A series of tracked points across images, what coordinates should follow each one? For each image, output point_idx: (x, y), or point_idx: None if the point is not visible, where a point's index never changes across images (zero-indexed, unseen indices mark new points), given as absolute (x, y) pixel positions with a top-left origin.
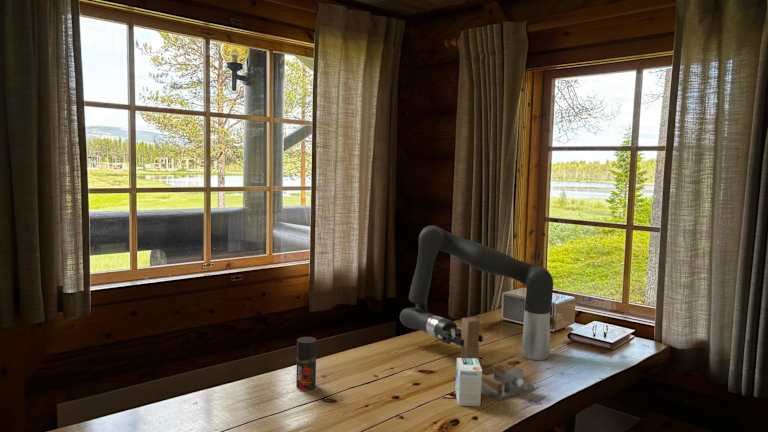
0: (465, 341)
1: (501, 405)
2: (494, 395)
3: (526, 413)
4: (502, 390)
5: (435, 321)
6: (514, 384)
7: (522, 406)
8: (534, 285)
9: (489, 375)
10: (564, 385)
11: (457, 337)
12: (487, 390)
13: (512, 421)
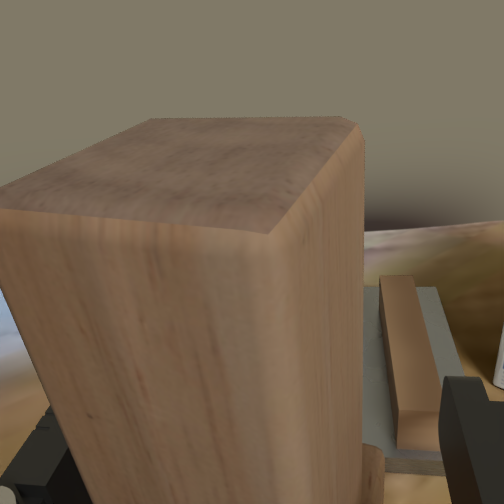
0: (356, 456)
1: (454, 277)
2: (440, 304)
3: (409, 233)
4: (370, 311)
5: None
6: None
7: (382, 254)
8: None
9: None
10: None
11: (498, 491)
12: (443, 335)
13: (492, 225)
